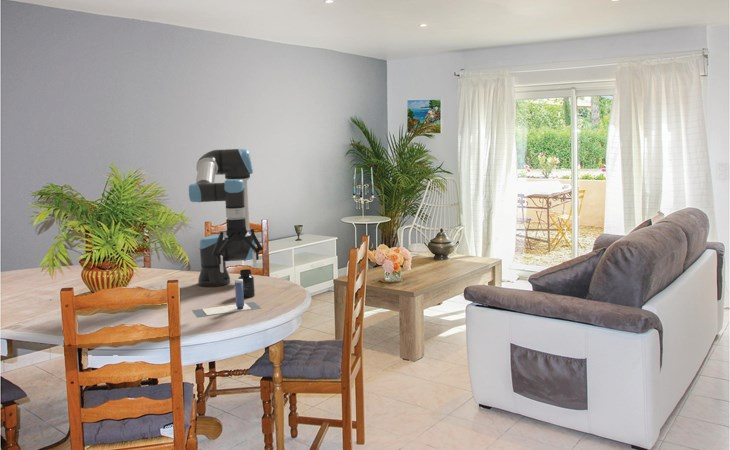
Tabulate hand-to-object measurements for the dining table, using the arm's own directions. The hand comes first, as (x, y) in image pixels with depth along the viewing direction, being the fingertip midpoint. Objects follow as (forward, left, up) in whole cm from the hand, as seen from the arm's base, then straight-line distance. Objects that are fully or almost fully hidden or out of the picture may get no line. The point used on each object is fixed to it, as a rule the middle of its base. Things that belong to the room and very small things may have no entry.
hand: (238, 270), depth 256 cm
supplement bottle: (-20, +8, -17) cm, 27 cm away
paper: (-3, -5, -16) cm, 17 cm away
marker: (0, 0, -16) cm, 16 cm away
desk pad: (-3, -5, -17) cm, 18 cm away
